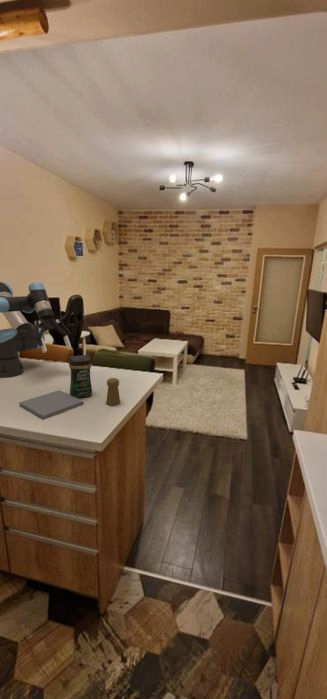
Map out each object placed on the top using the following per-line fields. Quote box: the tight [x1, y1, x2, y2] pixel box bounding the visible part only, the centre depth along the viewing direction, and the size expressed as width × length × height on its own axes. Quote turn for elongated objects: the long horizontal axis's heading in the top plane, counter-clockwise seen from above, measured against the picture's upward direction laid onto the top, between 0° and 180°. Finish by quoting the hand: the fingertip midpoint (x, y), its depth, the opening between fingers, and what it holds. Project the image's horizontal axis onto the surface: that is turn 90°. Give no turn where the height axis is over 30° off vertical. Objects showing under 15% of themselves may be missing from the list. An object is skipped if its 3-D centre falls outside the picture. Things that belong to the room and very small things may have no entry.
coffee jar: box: [68, 354, 93, 399], centre depth 138 cm, size 10×8×19 cm
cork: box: [105, 377, 121, 407], centre depth 131 cm, size 6×6×11 cm
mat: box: [18, 389, 85, 420], centre depth 128 cm, size 18×18×2 cm
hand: (57, 349), depth 154 cm, fingers open, 13 cm apart
